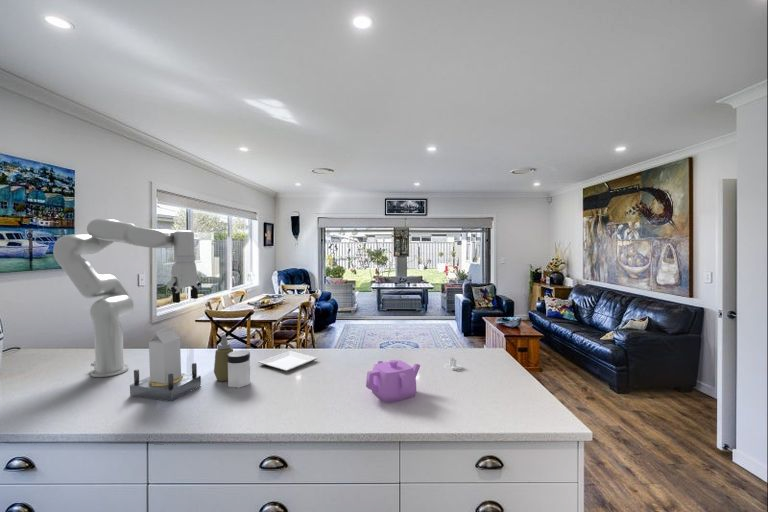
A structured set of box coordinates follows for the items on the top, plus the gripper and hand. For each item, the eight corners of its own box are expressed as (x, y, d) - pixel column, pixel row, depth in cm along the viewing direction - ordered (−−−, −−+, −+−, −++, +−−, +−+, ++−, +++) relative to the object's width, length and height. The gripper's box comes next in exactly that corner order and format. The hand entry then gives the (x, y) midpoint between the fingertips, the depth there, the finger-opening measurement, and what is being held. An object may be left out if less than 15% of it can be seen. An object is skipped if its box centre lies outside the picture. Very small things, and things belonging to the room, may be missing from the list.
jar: (250, 386, 141) (250, 355, 140) (227, 389, 138) (227, 358, 137) (250, 377, 149) (249, 348, 148) (228, 380, 146) (227, 351, 145)
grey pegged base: (130, 395, 132) (129, 371, 131) (162, 380, 146) (161, 358, 145) (171, 401, 128) (170, 376, 127) (200, 385, 141) (200, 362, 141)
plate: (317, 361, 169) (317, 357, 169) (286, 374, 153) (286, 370, 153) (289, 354, 179) (289, 350, 179) (257, 365, 163) (257, 361, 163)
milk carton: (181, 377, 139) (179, 327, 137) (164, 384, 132) (163, 332, 131) (166, 375, 141) (165, 326, 140) (150, 382, 134) (148, 330, 133)
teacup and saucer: (460, 372, 157) (460, 363, 157) (442, 370, 159) (442, 361, 159) (463, 365, 165) (463, 356, 165) (445, 363, 168) (445, 354, 167)
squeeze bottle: (227, 383, 143) (226, 338, 142) (209, 381, 145) (208, 337, 144) (239, 375, 151) (238, 332, 150) (222, 374, 153) (221, 331, 152)
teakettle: (363, 400, 129) (363, 366, 128) (378, 382, 145) (378, 351, 145) (411, 407, 124) (411, 371, 124) (420, 387, 141) (421, 355, 140)
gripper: (192, 258, 163) (193, 296, 164) (159, 261, 146) (161, 303, 147) (207, 258, 161) (207, 297, 162) (175, 261, 144) (176, 304, 145)
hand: (185, 300), depth 155 cm, fingers open, 9 cm apart
